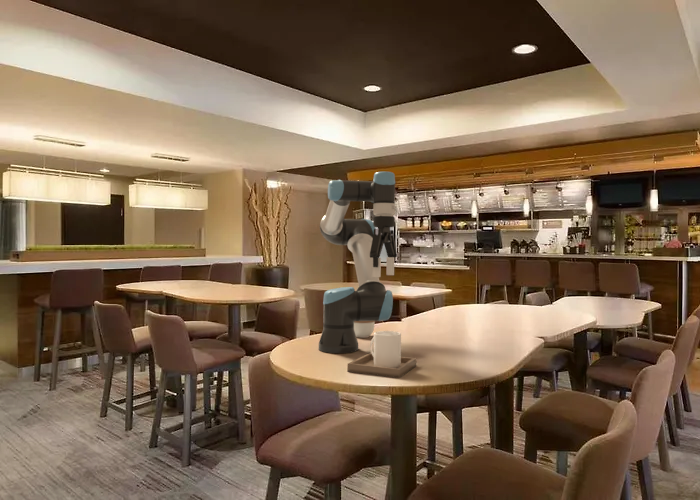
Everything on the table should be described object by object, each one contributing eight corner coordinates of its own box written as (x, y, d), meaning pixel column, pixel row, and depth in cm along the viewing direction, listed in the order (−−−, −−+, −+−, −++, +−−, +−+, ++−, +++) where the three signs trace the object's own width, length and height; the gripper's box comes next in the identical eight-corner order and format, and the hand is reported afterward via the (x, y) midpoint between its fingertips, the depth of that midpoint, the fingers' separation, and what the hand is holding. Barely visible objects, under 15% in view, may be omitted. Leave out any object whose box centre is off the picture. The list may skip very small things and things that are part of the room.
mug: (380, 360, 168) (380, 328, 168) (406, 367, 159) (406, 333, 159) (361, 364, 163) (361, 331, 163) (387, 371, 154) (387, 336, 154)
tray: (347, 371, 156) (347, 363, 156) (368, 360, 172) (368, 353, 172) (399, 377, 149) (399, 369, 149) (416, 365, 165) (416, 358, 165)
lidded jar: (347, 334, 222) (347, 313, 222) (369, 333, 226) (369, 313, 226) (354, 339, 212) (354, 317, 212) (378, 337, 215) (378, 316, 215)
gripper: (381, 213, 164) (380, 278, 164) (405, 217, 187) (404, 274, 187) (360, 213, 167) (359, 277, 168) (386, 218, 190) (386, 274, 190)
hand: (383, 276), depth 177 cm, fingers open, 13 cm apart
